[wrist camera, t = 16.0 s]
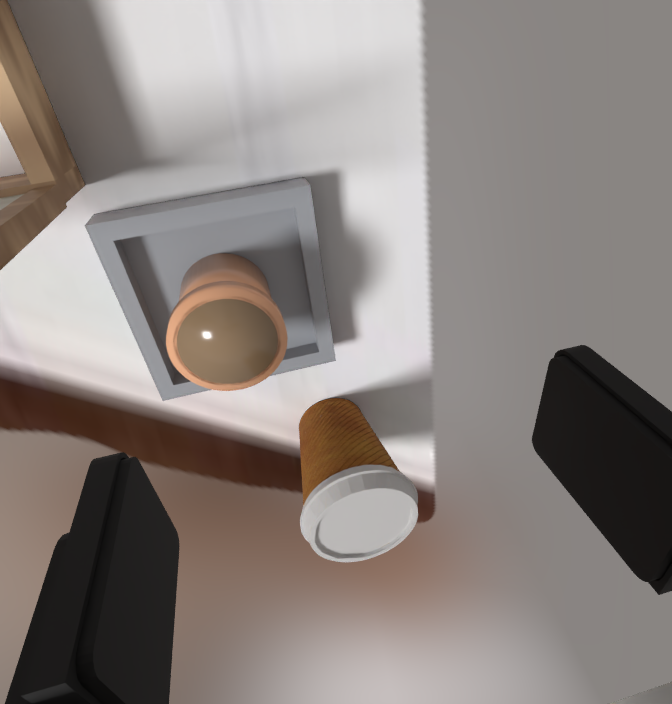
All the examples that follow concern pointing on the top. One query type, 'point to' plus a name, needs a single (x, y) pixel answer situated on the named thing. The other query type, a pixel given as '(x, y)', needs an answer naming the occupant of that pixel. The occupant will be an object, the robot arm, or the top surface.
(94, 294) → the top surface
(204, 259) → the terracotta pot
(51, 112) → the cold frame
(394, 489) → the disposable coffee cup
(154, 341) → the slate tray
